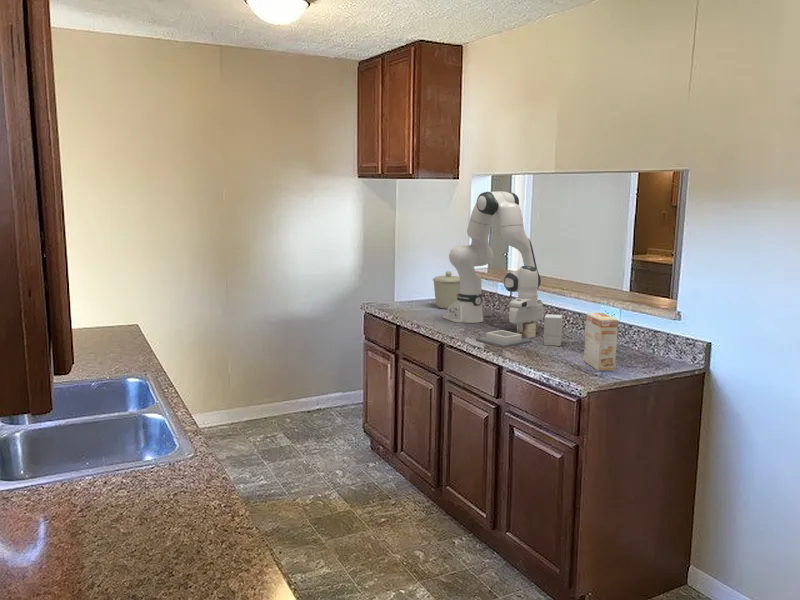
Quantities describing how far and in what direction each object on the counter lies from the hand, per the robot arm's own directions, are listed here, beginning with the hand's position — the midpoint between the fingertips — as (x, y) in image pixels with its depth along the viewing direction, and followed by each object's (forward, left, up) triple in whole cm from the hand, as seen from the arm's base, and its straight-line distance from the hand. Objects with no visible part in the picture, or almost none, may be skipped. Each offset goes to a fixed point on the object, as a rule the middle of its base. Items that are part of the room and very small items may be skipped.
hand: (526, 330), depth 306 cm
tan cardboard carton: (0, 0, -2) cm, 2 cm away
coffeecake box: (+53, -18, -3) cm, 56 cm away
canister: (-78, +21, -3) cm, 81 cm away
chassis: (+2, -17, -2) cm, 17 cm away
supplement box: (+18, -3, -3) cm, 18 cm away
